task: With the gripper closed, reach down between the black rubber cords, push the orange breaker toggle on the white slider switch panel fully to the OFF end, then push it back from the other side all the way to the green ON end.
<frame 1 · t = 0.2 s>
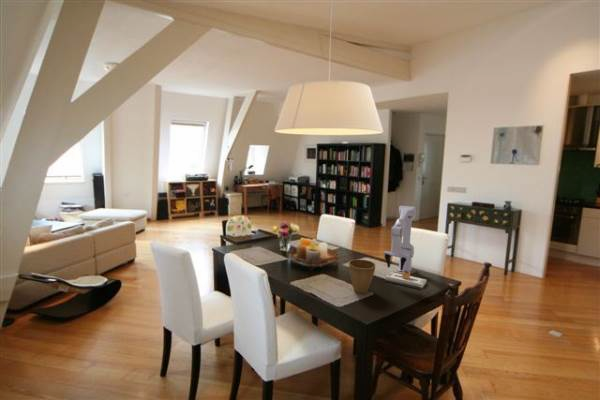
hand: (395, 268, 196), 10 cm above the table, fingers open, 7 cm apart
plant pot: (360, 290, 187), on the table
dressed cords: (405, 281, 202), on the table
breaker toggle: (406, 274, 201), point 4 cm above the table, slide at 0.0 cm
white slider switch panel: (405, 281, 202), on the table
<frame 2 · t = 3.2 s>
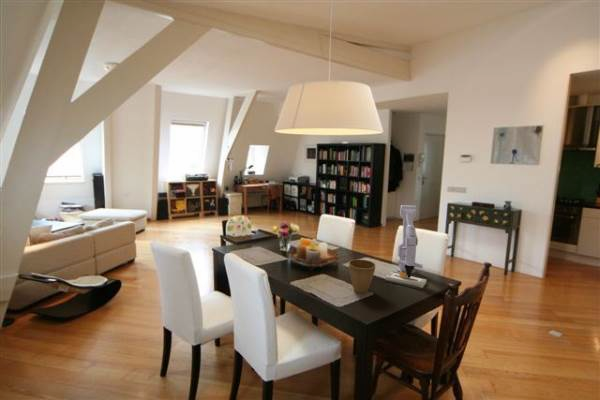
hand: (409, 277, 200), 3 cm above the table, fingers closed
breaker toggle: (403, 273, 202), point 4 cm above the table, slide at -1.6 cm, touching gripper
everything else where it was.
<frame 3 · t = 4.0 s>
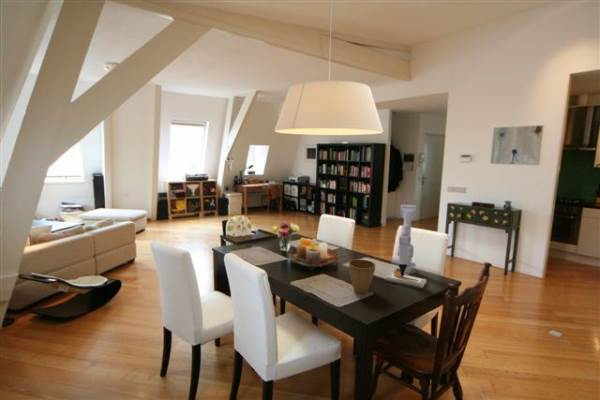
hand: (402, 275, 203), 3 cm above the table, fingers closed
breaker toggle: (398, 272, 204), point 5 cm above the table, slide at -4.9 cm, touching gripper
everything else where it was.
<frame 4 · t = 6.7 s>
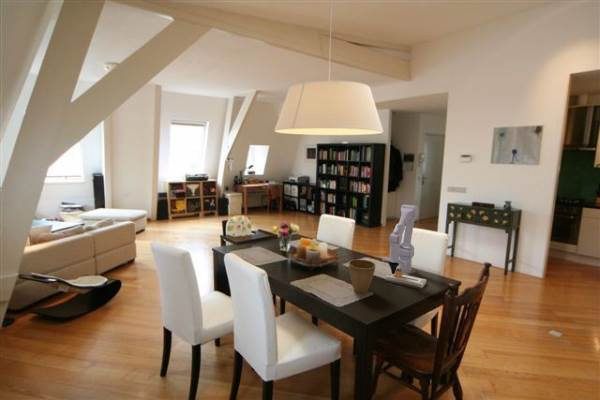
hand: (393, 273, 206), 3 cm above the table, fingers closed
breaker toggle: (398, 272, 204), point 4 cm above the table, slide at -4.4 cm, touching gripper
everything else where it was.
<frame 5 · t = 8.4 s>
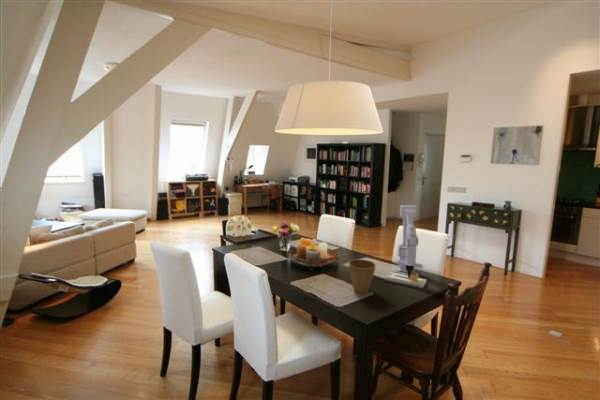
hand: (409, 277, 200), 3 cm above the table, fingers closed
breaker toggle: (414, 275, 198), point 4 cm above the table, slide at 4.9 cm, touching gripper
everything else where it was.
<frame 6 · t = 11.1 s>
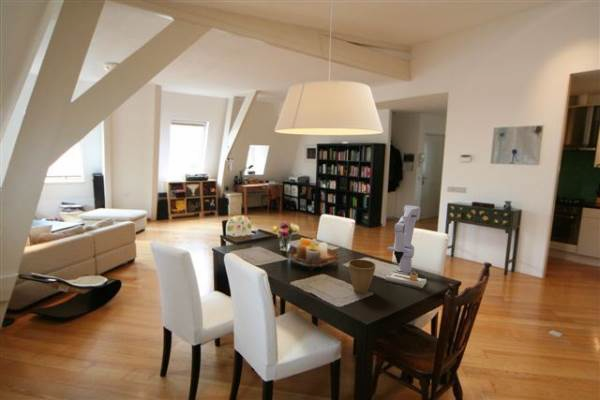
hand: (398, 263, 206), 9 cm above the table, fingers closed
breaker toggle: (413, 275, 199), point 4 cm above the table, slide at 4.6 cm
everything else where it was.
at the end: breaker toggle slide at 4.6 cm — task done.
